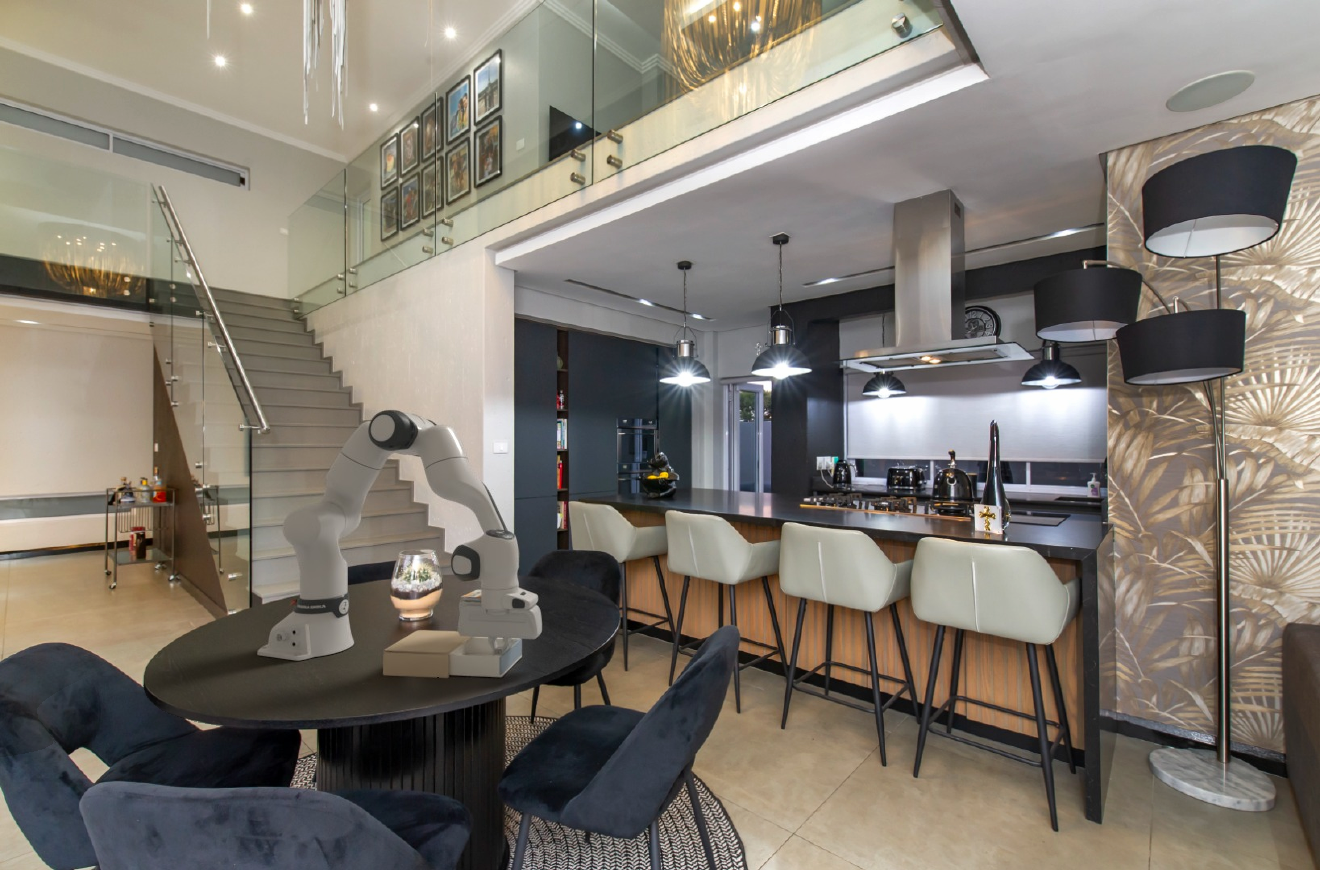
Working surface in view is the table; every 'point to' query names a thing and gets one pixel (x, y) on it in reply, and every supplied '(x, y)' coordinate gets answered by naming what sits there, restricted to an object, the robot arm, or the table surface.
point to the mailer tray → (483, 658)
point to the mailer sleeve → (422, 654)
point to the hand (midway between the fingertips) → (499, 655)
